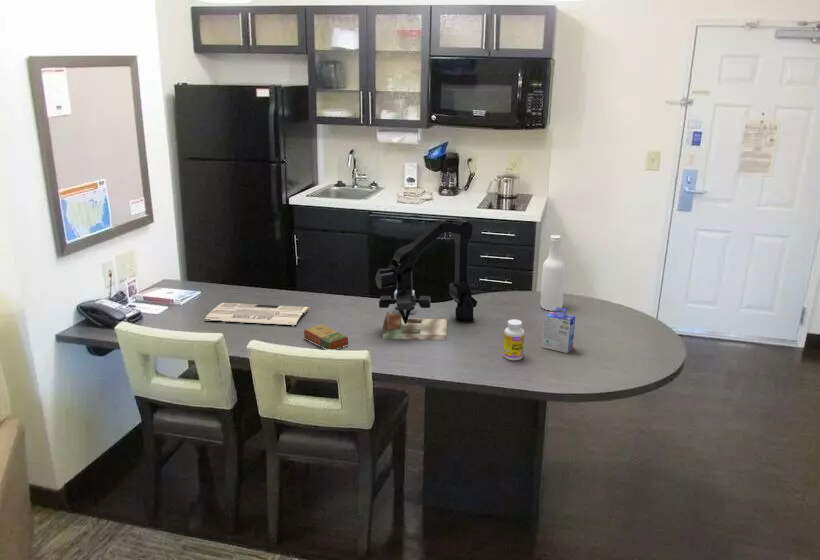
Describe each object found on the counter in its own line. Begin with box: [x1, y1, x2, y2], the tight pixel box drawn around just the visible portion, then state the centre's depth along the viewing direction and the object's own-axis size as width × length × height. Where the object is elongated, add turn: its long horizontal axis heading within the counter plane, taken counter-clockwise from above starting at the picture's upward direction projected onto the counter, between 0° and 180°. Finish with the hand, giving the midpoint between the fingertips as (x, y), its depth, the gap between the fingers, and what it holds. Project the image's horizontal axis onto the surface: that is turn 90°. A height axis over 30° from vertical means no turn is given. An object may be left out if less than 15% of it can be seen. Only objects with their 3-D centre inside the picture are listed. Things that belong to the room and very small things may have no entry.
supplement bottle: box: [503, 318, 525, 361], centre depth 226 cm, size 7×7×13 cm
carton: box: [303, 323, 349, 349], centre depth 240 cm, size 8×16×4 cm, turn 42°
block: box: [387, 313, 402, 329], centre depth 248 cm, size 5×5×4 cm
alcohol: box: [540, 234, 566, 312], centre depth 266 cm, size 9×9×30 cm
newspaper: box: [204, 302, 311, 326], centre depth 264 cm, size 37×19×3 cm, turn 81°
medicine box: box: [393, 289, 416, 315], centre depth 267 cm, size 8×4×9 cm, turn 84°
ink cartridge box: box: [541, 307, 576, 354], centre depth 232 cm, size 10×6×14 cm, turn 58°
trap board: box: [382, 311, 448, 341], centre depth 249 cm, size 23×15×4 cm, turn 86°
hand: (405, 323), depth 249 cm, fingers closed
